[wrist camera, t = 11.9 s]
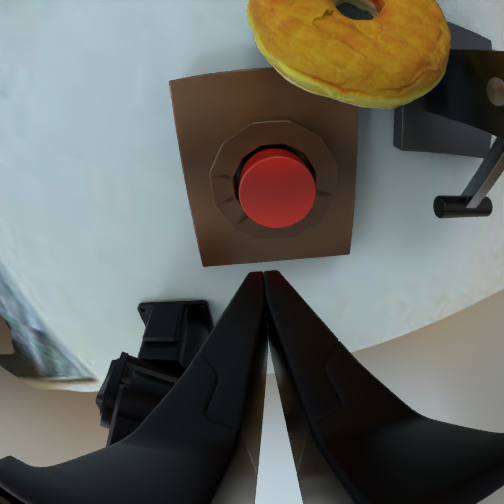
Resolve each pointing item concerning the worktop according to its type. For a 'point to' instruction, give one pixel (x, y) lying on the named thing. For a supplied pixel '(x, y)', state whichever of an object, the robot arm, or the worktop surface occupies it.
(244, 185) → the button
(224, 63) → the worktop surface
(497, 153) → the lever
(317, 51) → the yellow donut
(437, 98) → the bracket
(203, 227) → the button block
